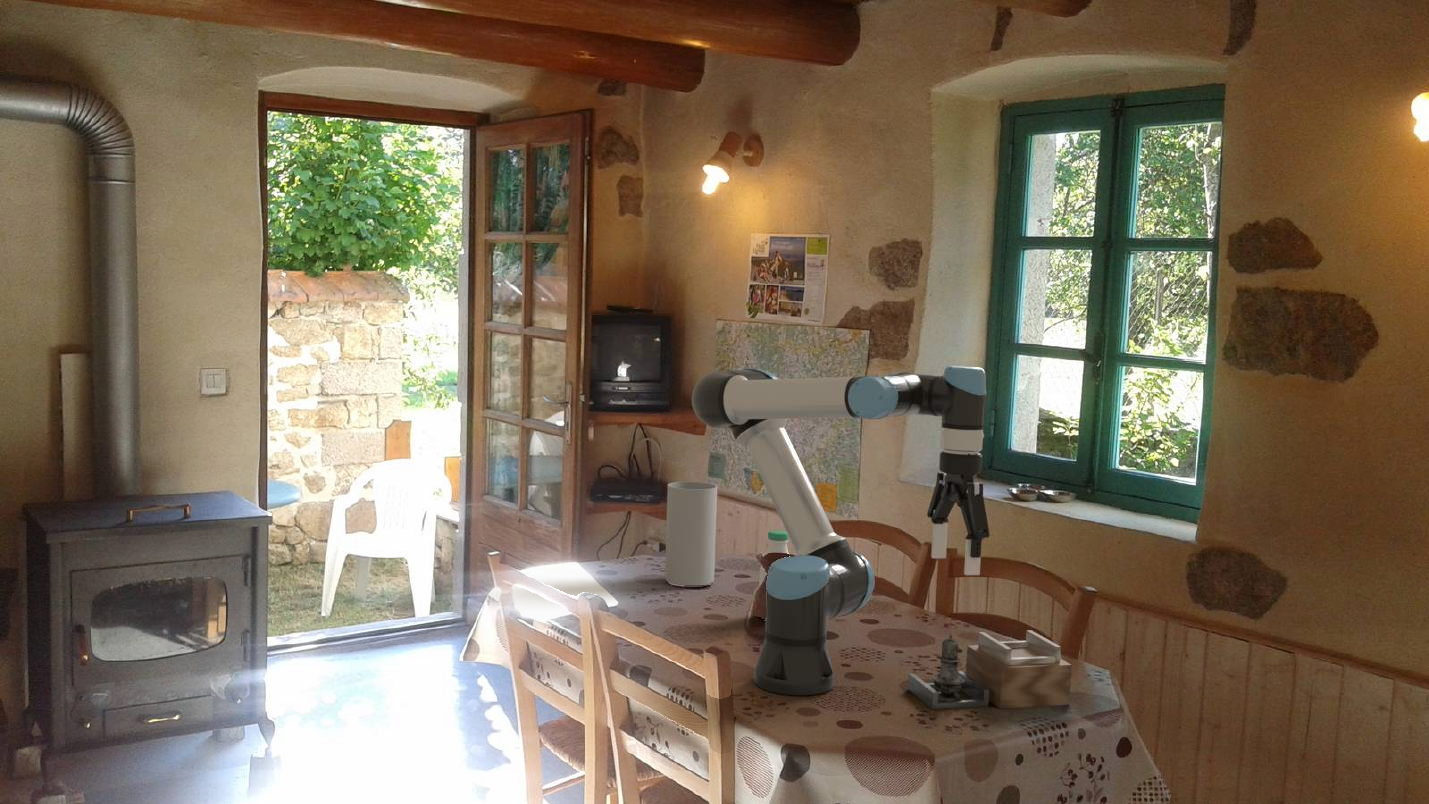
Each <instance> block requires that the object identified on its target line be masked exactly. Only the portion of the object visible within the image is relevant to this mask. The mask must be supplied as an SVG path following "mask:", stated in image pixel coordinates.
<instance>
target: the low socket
mask: <svg viewBox="0 0 1429 804" xmlns="http://www.w3.org/2000/svg"><path fill="white" fill-rule="evenodd" d="M957 671H958V670H957ZM958 676H960V677H962V678H963V679H964V680H965V682H964V683H963V686H962V688H961V690H960V691H961V692H963V693H964V694H966V695H967V696H969V698H971V699H962V700H956V701H939V700H938V692H939V691H938V690H937V689H936V688H935V685H934V682H925V681H924V680H923V679H921V678H920V677H919V676H918V675H916V674H915V673H908V678H907V679H908V681H907V683H908V684H907V690H908V691H909V692H911V693H912V694H913V695H914V696H916V697H917V698H918V699H920V701H922V703H924V704H926V705H927V706H928V707H929V708H930V709H932V710H941V709H942V710H944V709H961V708H978V707H979V708H980V707H989V703H990V701H989V689H987V688H986V687H984V686H983V685H981V684H980V683H979V682H977V681H976V680H974V679H973V678H971V677H970V676H968V675H967V674H966V672H964V671H961V670H960V671H958Z"/></svg>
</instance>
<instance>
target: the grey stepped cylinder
mask: <svg viewBox="0 0 1429 804" xmlns="http://www.w3.org/2000/svg"><path fill="white" fill-rule="evenodd" d="M941 647H942V648H941V656H939V660H940V670H939V673H937V674H934V675H932V680H933V683H934V685H935V688H936V689H937V690H936V691H937V692H938V701H956V700H963V697H962V696H961V695H960V694H958V693H959V692H960V691H962V690H961V688H962V686H963V683H964V682H965V680H964V679H963V678H962V677H960V676H958V665H959V664H958V663H959V661H960V660H961V659H960V658H959V657H958V656H959V642H958V641H957V640H956V639H954V638H953V635H952V634H949V635H948V638H946V639H944V640H943V641H942V645H941Z"/></svg>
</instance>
